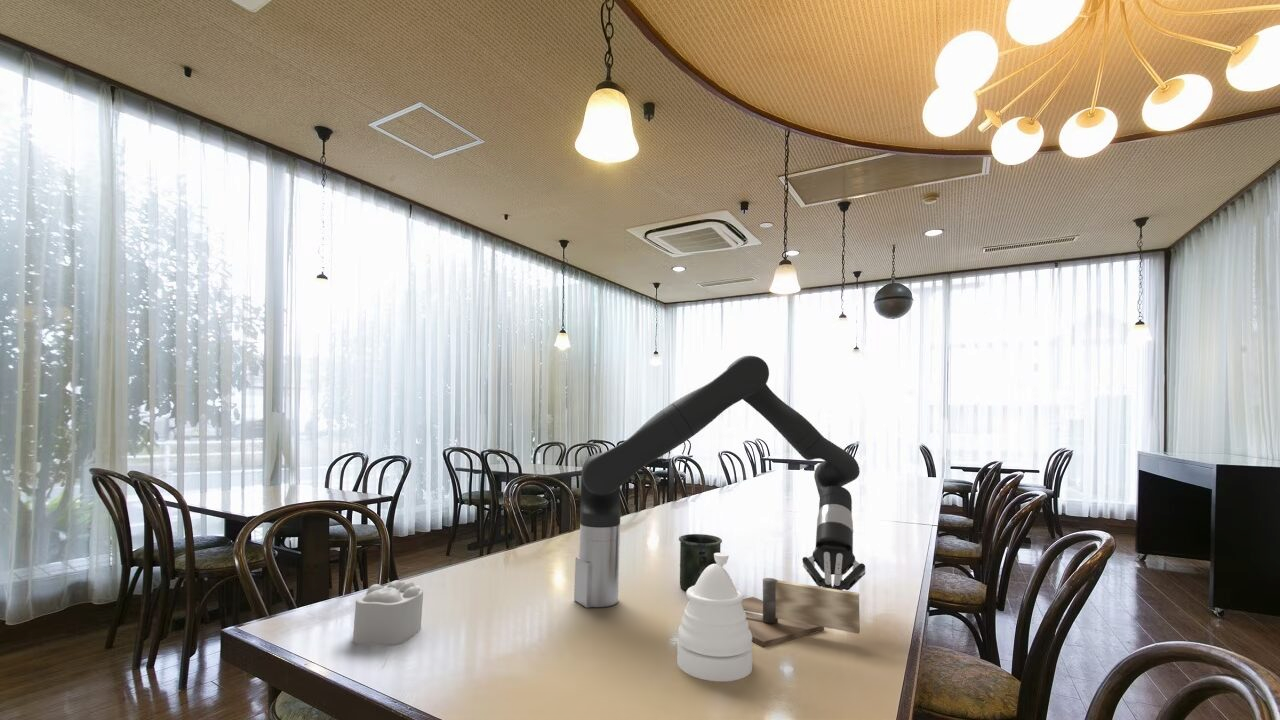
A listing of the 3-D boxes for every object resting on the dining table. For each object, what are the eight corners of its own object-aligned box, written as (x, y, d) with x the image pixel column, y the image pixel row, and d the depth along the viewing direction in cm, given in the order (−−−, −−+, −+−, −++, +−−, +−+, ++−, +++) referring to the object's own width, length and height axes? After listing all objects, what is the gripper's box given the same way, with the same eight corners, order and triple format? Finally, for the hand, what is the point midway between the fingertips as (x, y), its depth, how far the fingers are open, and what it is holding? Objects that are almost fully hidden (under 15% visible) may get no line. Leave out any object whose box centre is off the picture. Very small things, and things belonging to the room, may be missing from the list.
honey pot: (702, 642, 105) (704, 544, 106) (765, 662, 96) (765, 556, 98) (662, 664, 95) (664, 556, 96) (728, 689, 87) (729, 570, 88)
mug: (718, 582, 143) (719, 534, 144) (726, 600, 129) (727, 547, 130) (676, 580, 143) (677, 533, 145) (680, 599, 129) (680, 546, 130)
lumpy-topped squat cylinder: (344, 643, 100) (348, 594, 101) (384, 618, 113) (387, 574, 114) (398, 647, 99) (401, 597, 100) (433, 621, 112) (435, 577, 113)
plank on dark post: (716, 612, 117) (717, 573, 117) (721, 608, 119) (721, 570, 120) (858, 640, 104) (857, 596, 105) (860, 635, 106) (859, 592, 107)
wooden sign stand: (763, 647, 103) (763, 640, 103) (695, 613, 119) (696, 608, 120) (823, 630, 112) (823, 624, 112) (753, 601, 129) (753, 596, 129)
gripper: (801, 517, 122) (795, 591, 109) (866, 523, 117) (868, 601, 104) (804, 537, 126) (799, 610, 114) (867, 543, 121) (868, 621, 109)
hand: (832, 606), depth 109 cm, fingers closed
